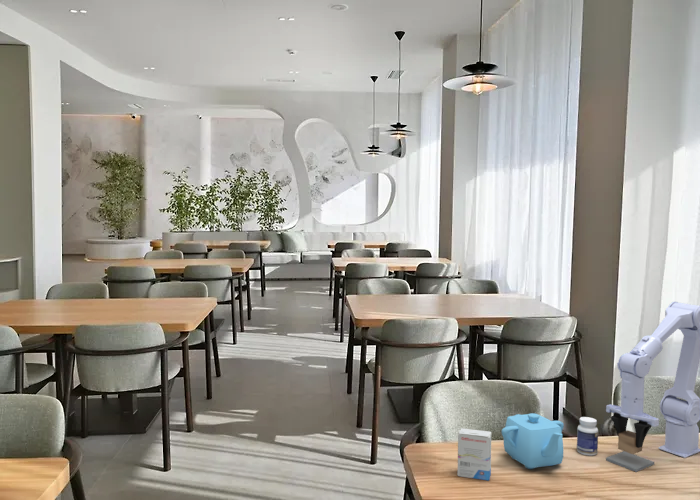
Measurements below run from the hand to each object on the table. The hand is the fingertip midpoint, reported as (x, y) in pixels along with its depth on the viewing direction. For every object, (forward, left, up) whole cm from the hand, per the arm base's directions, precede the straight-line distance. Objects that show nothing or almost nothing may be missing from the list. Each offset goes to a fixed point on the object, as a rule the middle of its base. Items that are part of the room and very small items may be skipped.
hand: (630, 443), depth 167 cm
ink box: (+43, -18, -6) cm, 47 cm away
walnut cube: (0, 0, -2) cm, 2 cm away
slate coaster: (0, 0, -6) cm, 6 cm away
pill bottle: (+4, -11, -6) cm, 13 cm away
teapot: (+23, -14, -6) cm, 28 cm away
